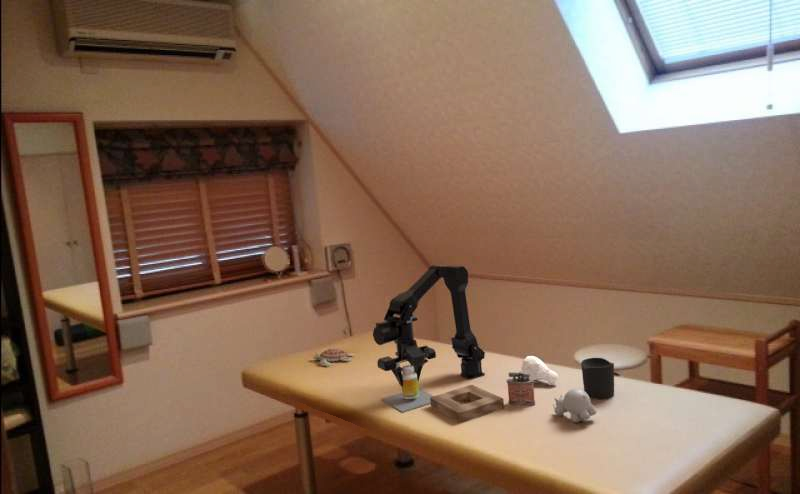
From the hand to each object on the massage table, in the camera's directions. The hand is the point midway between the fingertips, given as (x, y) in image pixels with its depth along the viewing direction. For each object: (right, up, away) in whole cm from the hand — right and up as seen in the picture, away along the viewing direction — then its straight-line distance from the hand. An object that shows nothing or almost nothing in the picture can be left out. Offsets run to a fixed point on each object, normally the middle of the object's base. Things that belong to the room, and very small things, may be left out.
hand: (409, 384), depth 192 cm
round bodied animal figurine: (+46, -4, -24) cm, 52 cm away
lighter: (+34, -4, -11) cm, 36 cm away
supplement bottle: (0, -4, 0) cm, 4 cm away
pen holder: (+58, -1, -9) cm, 59 cm away
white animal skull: (+43, -1, +5) cm, 44 cm away
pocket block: (+17, -5, -10) cm, 20 cm away
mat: (0, -5, +1) cm, 5 cm away
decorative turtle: (-30, -3, +52) cm, 60 cm away
